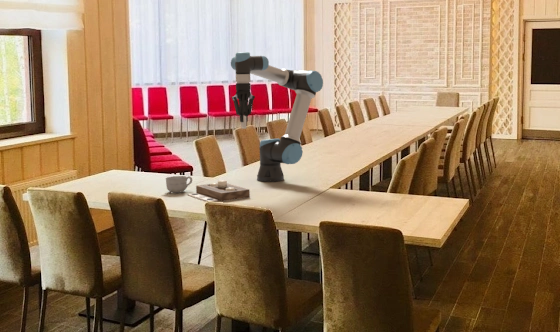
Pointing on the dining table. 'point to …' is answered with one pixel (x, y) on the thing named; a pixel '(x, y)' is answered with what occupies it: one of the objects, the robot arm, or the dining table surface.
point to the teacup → (177, 183)
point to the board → (223, 192)
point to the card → (202, 197)
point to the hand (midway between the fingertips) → (243, 128)
